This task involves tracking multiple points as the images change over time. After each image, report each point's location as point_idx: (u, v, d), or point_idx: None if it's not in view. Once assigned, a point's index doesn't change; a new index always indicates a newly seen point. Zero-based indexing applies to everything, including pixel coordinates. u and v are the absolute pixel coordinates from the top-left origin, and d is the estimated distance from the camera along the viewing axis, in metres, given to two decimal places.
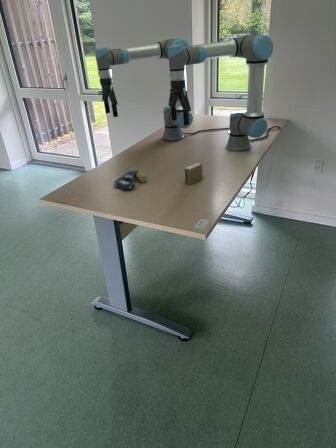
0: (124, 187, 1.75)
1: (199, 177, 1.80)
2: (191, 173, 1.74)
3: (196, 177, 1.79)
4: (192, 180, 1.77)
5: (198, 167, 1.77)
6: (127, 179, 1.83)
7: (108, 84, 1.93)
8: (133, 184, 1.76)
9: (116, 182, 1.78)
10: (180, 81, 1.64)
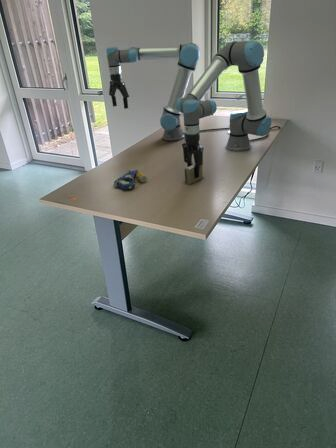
0: (124, 187, 1.75)
1: (199, 177, 1.80)
2: (191, 172, 1.74)
3: None
4: (192, 180, 1.77)
5: None
6: (127, 179, 1.83)
7: (119, 79, 2.17)
8: (133, 184, 1.76)
9: (116, 182, 1.78)
10: (196, 135, 1.65)
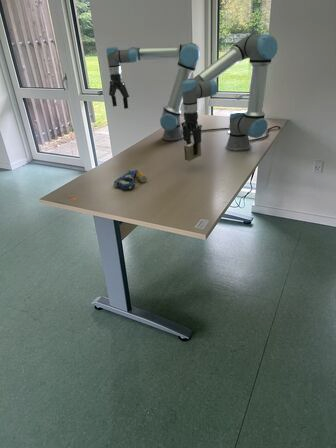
0: (124, 187, 1.75)
1: (198, 154, 1.91)
2: (190, 150, 1.85)
3: (195, 155, 1.89)
4: (191, 157, 1.87)
5: None
6: (127, 179, 1.83)
7: (119, 79, 2.17)
8: (133, 184, 1.76)
9: (116, 182, 1.78)
10: (195, 113, 1.76)
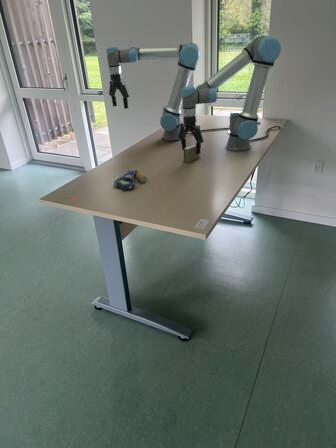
0: (124, 187, 1.75)
1: (196, 157, 2.07)
2: (189, 152, 2.01)
3: (193, 157, 2.05)
4: (189, 159, 2.03)
5: (195, 148, 2.03)
6: (127, 179, 1.83)
7: (119, 79, 2.17)
8: (133, 184, 1.76)
9: (116, 182, 1.78)
10: (193, 117, 1.91)
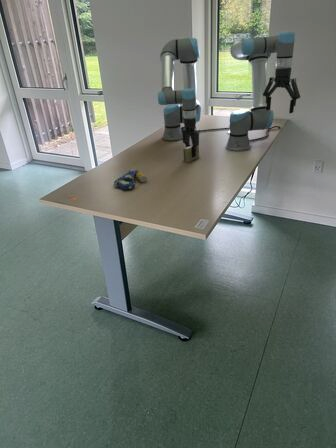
0: (124, 187, 1.75)
1: (196, 156, 2.07)
2: (188, 152, 2.01)
3: (193, 157, 2.05)
4: (189, 158, 2.04)
5: None
6: (127, 179, 1.83)
7: (194, 124, 1.93)
8: (133, 184, 1.76)
9: (116, 182, 1.78)
10: (289, 68, 1.63)
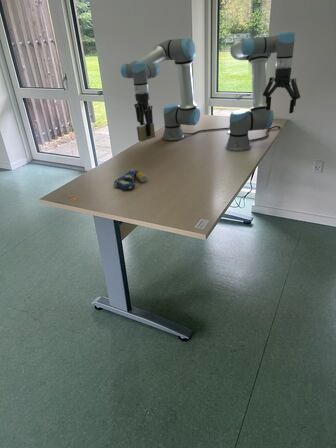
0: (124, 187, 1.75)
1: (151, 136, 1.96)
2: (142, 130, 1.90)
3: (148, 136, 1.94)
4: (144, 137, 1.92)
5: None
6: (127, 179, 1.83)
7: (146, 99, 1.82)
8: (133, 184, 1.76)
9: (116, 182, 1.78)
10: (289, 68, 1.63)
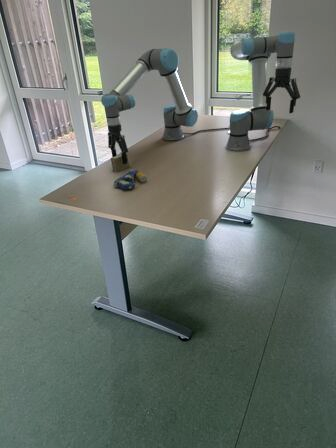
0: (124, 187, 1.75)
1: (125, 166, 2.03)
2: (116, 162, 1.97)
3: (122, 166, 2.01)
4: (118, 168, 1.99)
5: None
6: (127, 179, 1.83)
7: (118, 131, 1.89)
8: (133, 184, 1.76)
9: (116, 182, 1.78)
10: (289, 68, 1.63)
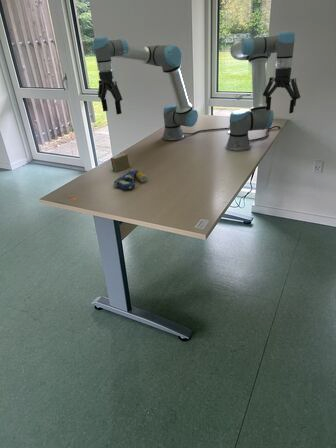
0: (124, 187, 1.75)
1: (125, 166, 2.03)
2: (116, 162, 1.97)
3: (122, 166, 2.01)
4: (118, 168, 1.99)
5: (123, 157, 1.99)
6: (127, 179, 1.83)
7: (110, 78, 1.74)
8: (133, 184, 1.76)
9: (116, 182, 1.78)
10: (289, 68, 1.63)
